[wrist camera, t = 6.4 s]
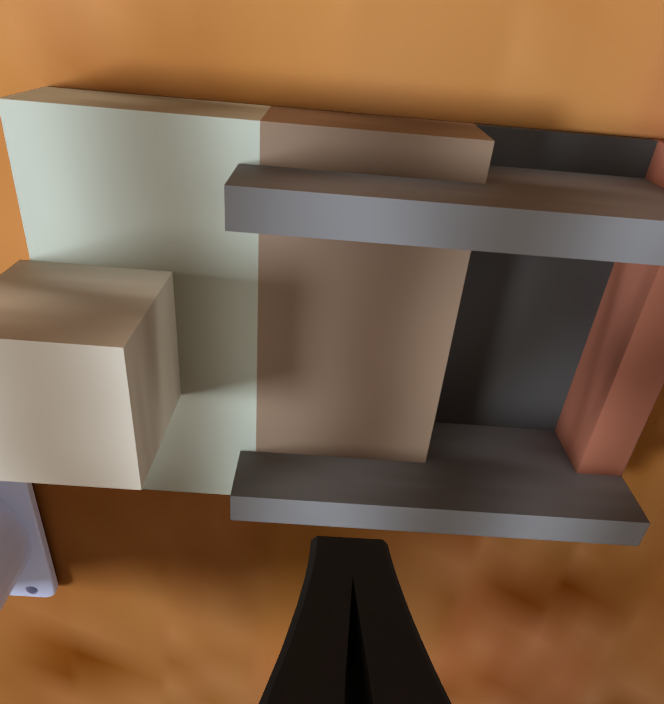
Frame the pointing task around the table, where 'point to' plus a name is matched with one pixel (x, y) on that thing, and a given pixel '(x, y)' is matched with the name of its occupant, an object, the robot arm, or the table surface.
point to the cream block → (85, 373)
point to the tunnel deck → (374, 303)
